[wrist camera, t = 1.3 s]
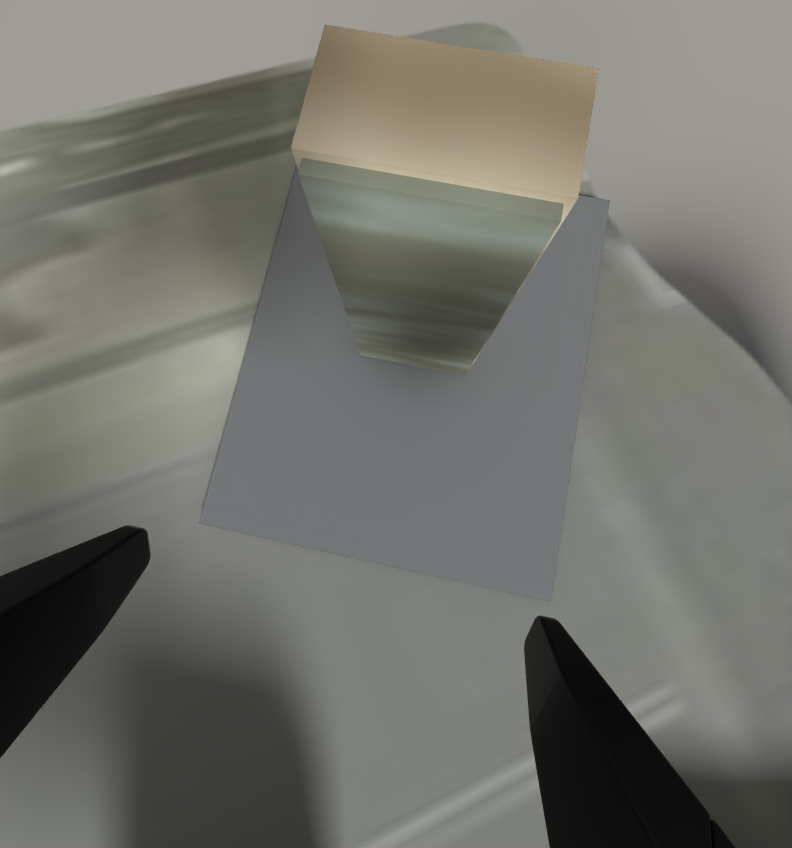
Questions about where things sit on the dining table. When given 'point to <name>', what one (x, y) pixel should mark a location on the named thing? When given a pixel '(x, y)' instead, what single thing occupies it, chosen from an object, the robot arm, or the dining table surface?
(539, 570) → the rubber mat
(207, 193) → the dining table surface
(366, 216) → the brown rectangular block
